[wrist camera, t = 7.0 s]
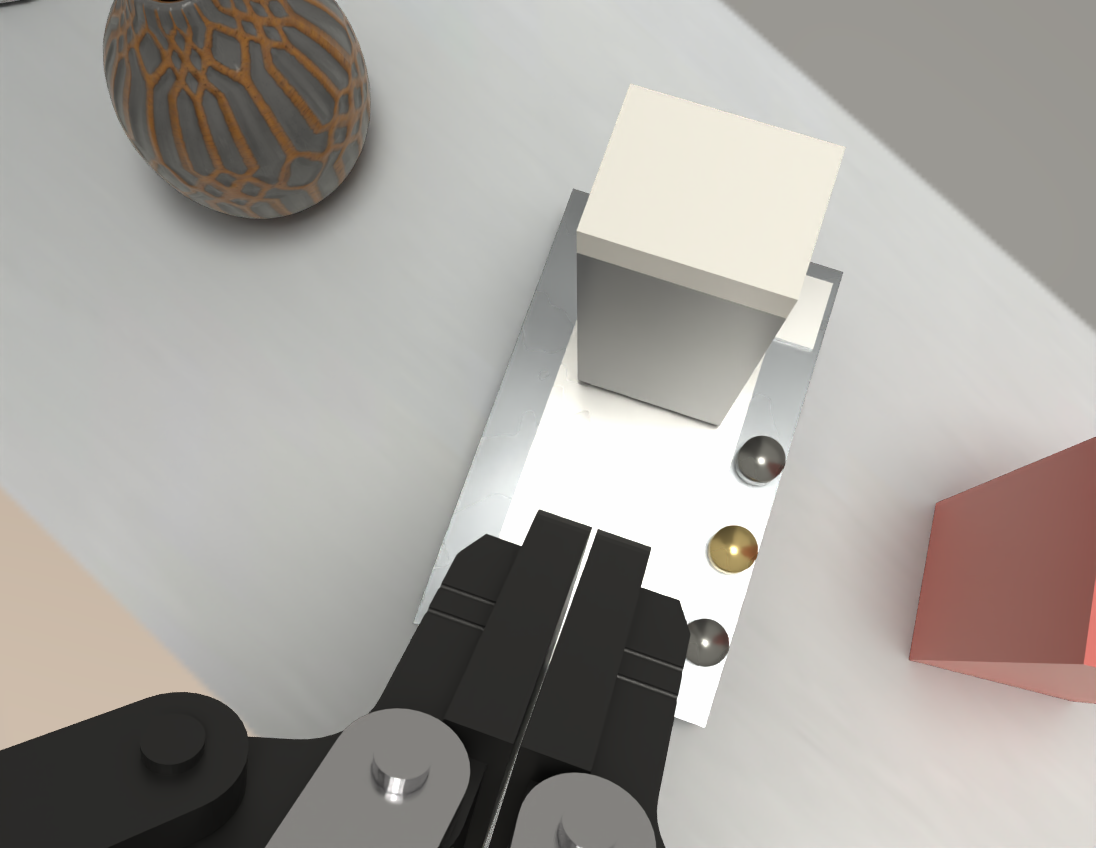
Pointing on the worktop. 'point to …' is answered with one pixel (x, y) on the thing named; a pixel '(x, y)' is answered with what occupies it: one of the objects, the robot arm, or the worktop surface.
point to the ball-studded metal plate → (640, 462)
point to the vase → (240, 98)
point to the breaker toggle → (694, 250)
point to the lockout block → (1016, 579)
